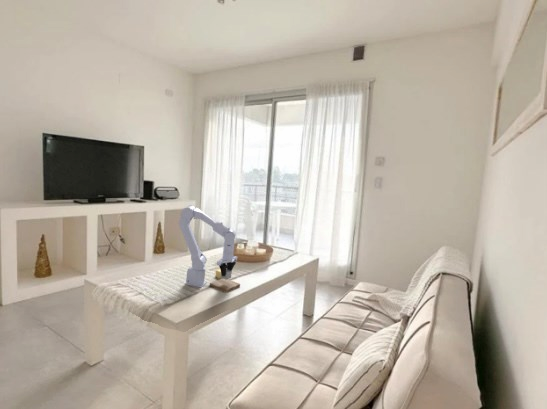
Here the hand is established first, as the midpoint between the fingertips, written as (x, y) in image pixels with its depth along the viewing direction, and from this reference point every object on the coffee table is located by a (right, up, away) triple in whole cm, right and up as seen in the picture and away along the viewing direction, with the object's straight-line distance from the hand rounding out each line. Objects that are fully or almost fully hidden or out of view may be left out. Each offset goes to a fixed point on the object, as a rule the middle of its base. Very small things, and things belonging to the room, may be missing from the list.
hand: (226, 274), depth 170 cm
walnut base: (-1, -7, +1) cm, 7 cm away
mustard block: (-6, -4, +14) cm, 15 cm away
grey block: (0, -2, 0) cm, 2 cm away
